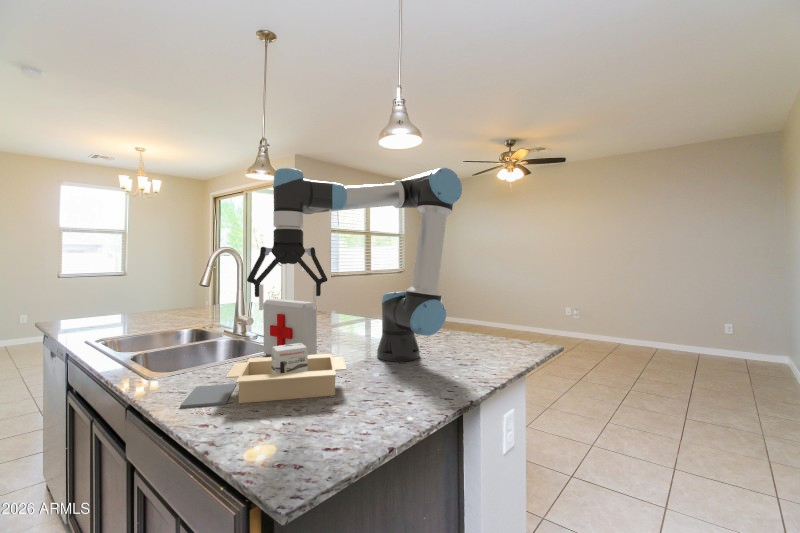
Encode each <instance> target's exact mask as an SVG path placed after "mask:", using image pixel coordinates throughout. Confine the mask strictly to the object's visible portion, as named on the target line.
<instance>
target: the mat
mask: <svg viewBox="0 0 800 533" xmlns="http://www.w3.org/2000/svg"><path fill="white" fill-rule="evenodd" d="M236 387H237V383H227V384H225V383H224V384H214V385H213V384H212V385H199V386H195V388H194V389H193V390H192V391H191V392H190V394H188V395H187V397H186V398H185V399H184V400H183V401H182V403H181V404H180V405H179V408H180V409H183V408H185V409H186V408H195V407H206V406H207V407H208V406H210V407H211V406H219V405H220V406H221V405H227V403H228V401H229V400H230V397H231V396H232V395H233V392H234V390H236Z"/></svg>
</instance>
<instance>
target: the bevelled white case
mask: <svg viewBox="0 0 800 533" xmlns="http://www.w3.org/2000/svg"><path fill="white" fill-rule="evenodd" d="M317 309H318V307H317V304H316V309H313V301H306V300H305V301H303V300H294V299H283V298H271V299H266V300H265V301H263V310H262V311H263V314H262V315H263V321H262V322H263V353H264V355H266V356H268V357H272V347H274V346H281V345H289V344H296V343H302V344H304V345H305V346H306V347H308V355H315V354H318V352H317V350H318V346H317V344H318V340H317V339H318V336H317V333H318V331H317V327H318V326H317V317H318V316H317V313H318V312H317Z"/></svg>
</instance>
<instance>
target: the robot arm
mask: <svg viewBox="0 0 800 533" xmlns="http://www.w3.org/2000/svg"><path fill="white" fill-rule="evenodd" d="M272 188H273V227H274V228H275V229H274V230H273V246H272V247H266V246H261V247H260V251H259V256H258V258H257V259H256V261H255V263H254V265H253V268H252V269H251V271H250V272H249V275H248V276H247V279H246V281H247V282H248V283H251V284H253V285H254V296H255V297H256V298H258V311H263V303H264V283H263V284H262V282H263V281H264V279H265V278H266V277H267V276H268V275H269V274H270V273H271V272H272V271H273V269H274V268H275V267H276V266H277V265H278V264H279V263H280V264H282V265H287V264H290V265H295V264H297V263H298V264H299V265H300V267H301V268H303V270H304V271H305V272H306V273H307V274H308V276H310V278H311V279H312V280H313V281H314V283H313V284H312V285H313V286H312V287H313V288H312V290H313V292H312V294H313V295H312V296H313V297H312V302H313V309H316V305H317V297H320V296H321V291H322V290H321V286H322V284H323V283H326V282H328V278H327V275H326V274H325V271H324V269H323V267H322V265H321V264H320V262H319V259H318V257H317V253H316V249H315V247H310V248H309V247H308V248H304V247H305V246H304V231H303V228H304V215H312V214H318V213H327V212H328V213H329V212H337V211H339V212H340V211H347V210H359V209H371V208H380V207H381V208H382V207H383V208H384V207H391V206H393V207H394V208H396V209H402V208H403V209H405V208H406V209H407V208H408V209H412V208H413V209H416V210H417V211H418V212H419V213H420V219H419V226H418V234H417V240H416V248H415V249H416V250H415V257H414V263H413V270H412V271H413V272H412V278H411V286H409V287H408V288H407V289H406V290H405V291H395V292H386V293H384V294H383V295H382V298H381V322H382V323H381V330H382V331H381V332H382V333H381V337H380V340H379V343H378V346H377V350H376V351H377V352H376V357H377V358H378V359H380V360H382V361H386V362H396V363H397V362H410V361H414V360H417V359H418V358H420V352H421V351H420V347H419V343H418V341H417V338H416V335H419V336H424V337H429V336H432V335H436V334H437V333H438V332H439V331H440V330H441V329H442V328H443V326H444V325H445V324H446V318H447V310H446V307H445V306H444V304H443V302H442V293H441V292H440V291H439V289H438V288H439V279H440V274H441V272H440V271H441V264H442V257H443V256H442V255H443V249H444V241H445V234H446V233H445V232H446V225H447V217H448V216H450V215H451V214H452V213H453V208H454V204H455V203H456V202H458V201H459V200H460V199H461V197H462V192H463V185H462V182H461V179H460V178H459V177H458V174H457V173H456V172H455V171H454V170H452V169H451V168H448V167H441V168H438V167H437V168H434V169H432V170H429V171H426V172H422V173H420V174H416V175H414V176H411V177H407V178H404V179H397V180H393V181H392V182H391V183H384V184H382V183H380V184H378V183H377V184H363V185H362V184H361V185H344V184H342V183H338V182H334V181H331V182H330V181H324V180H323V181H320V180H313V179H312V180H311V179H307V178H305V176H304V172H303V171H302V170H300V169H297V168H293V167H283V168H277V170H275V171H274V174H273V186H272ZM270 253H272V255H273V256H274V259H273V260H272V261H271V263H269V264H268V265H267V267H266V268H265V269H264V270H263V271H262V273H261V274H260V275H259V276H258V277H257V278H256V275H257V273H259V271H260V268H261V266H262V264H263V262H264V261H265V258H266V257H267V256H270ZM305 253H306V254H307V255H308V256H309V257H311V259H312V261H313V263H314V265H315V267H316V269H317V271H318V273H319V275H320V278H319V277H318V276H317V275H316V274H315V272H314V271H313V270H312V269H311V268H310V266H309V265H308V264H307V263H306V262H305V261H304V260H303V259H302V257H303V256H304V255H305Z"/></svg>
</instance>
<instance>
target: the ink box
mask: <svg viewBox="0 0 800 533" xmlns="http://www.w3.org/2000/svg"><path fill="white" fill-rule="evenodd" d="M271 357H272V369H271V374H277V373H292V372H307V371H308V347H306V346H305V345H304V344H302V343H296V344H289V345H281V346H274V347H272V356H271Z"/></svg>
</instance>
